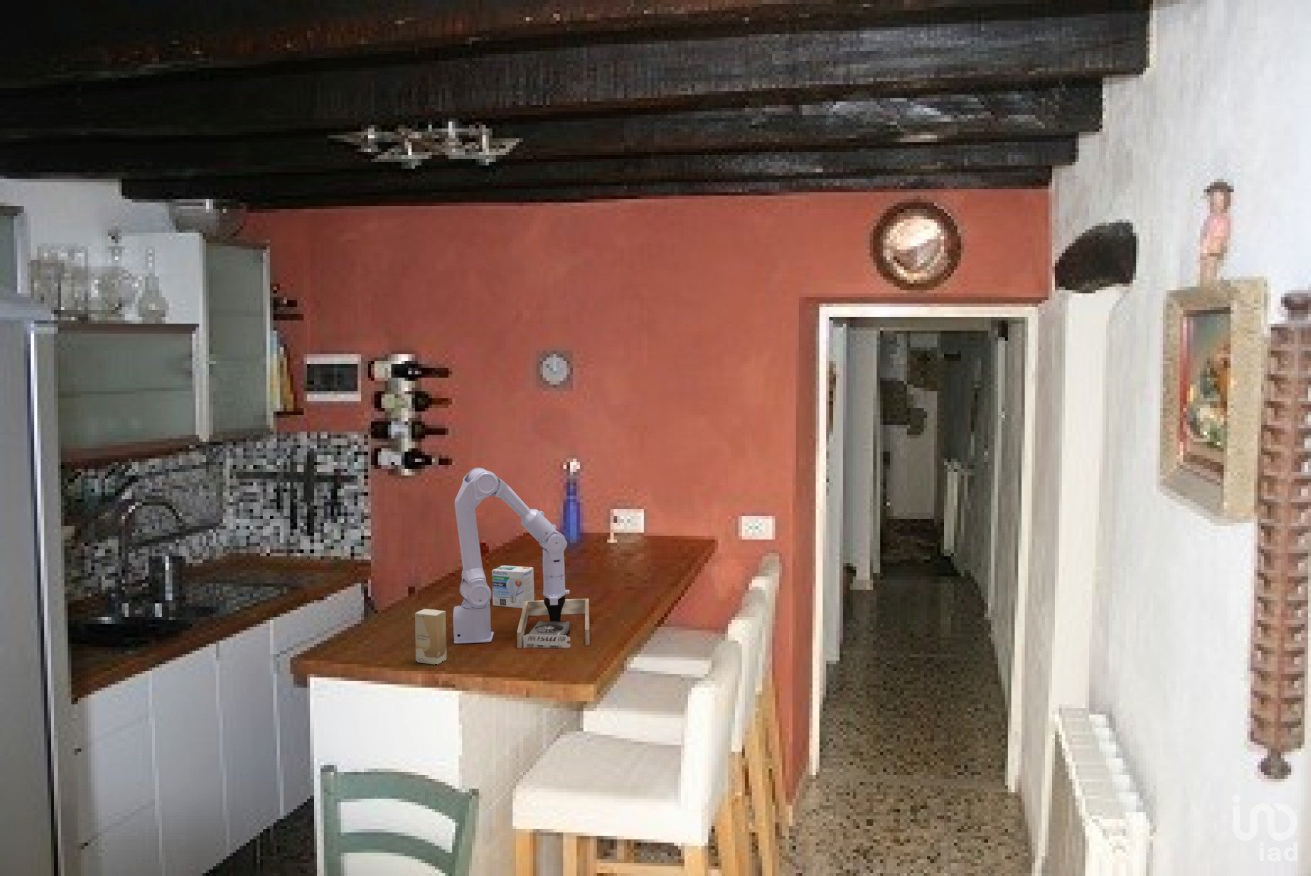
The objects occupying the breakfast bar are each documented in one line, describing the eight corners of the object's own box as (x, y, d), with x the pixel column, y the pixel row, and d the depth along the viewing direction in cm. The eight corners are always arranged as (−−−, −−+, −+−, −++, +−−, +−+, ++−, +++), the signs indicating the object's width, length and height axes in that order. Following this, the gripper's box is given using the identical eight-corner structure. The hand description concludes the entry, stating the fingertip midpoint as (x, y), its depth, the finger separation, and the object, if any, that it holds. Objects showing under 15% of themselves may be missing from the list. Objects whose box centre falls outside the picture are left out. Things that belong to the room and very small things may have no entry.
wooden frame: (517, 648, 245) (516, 632, 244) (524, 614, 275) (524, 601, 275) (589, 645, 246) (589, 629, 246) (589, 612, 277) (588, 598, 276)
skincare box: (415, 662, 235) (413, 612, 234) (425, 657, 239) (423, 608, 238) (438, 665, 233) (436, 614, 232) (448, 659, 237) (446, 610, 236)
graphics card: (569, 636, 243) (521, 635, 244) (569, 651, 243) (522, 650, 244) (581, 618, 260) (536, 617, 261) (581, 632, 260) (536, 631, 261)
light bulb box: (492, 605, 286) (490, 569, 285) (503, 600, 293) (502, 564, 292) (524, 608, 283) (523, 571, 282) (535, 602, 289) (534, 566, 288)
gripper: (568, 580, 253) (570, 631, 255) (569, 568, 268) (570, 616, 269) (541, 581, 253) (542, 633, 254) (543, 569, 267) (545, 617, 269)
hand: (555, 624), depth 262 cm, fingers closed
